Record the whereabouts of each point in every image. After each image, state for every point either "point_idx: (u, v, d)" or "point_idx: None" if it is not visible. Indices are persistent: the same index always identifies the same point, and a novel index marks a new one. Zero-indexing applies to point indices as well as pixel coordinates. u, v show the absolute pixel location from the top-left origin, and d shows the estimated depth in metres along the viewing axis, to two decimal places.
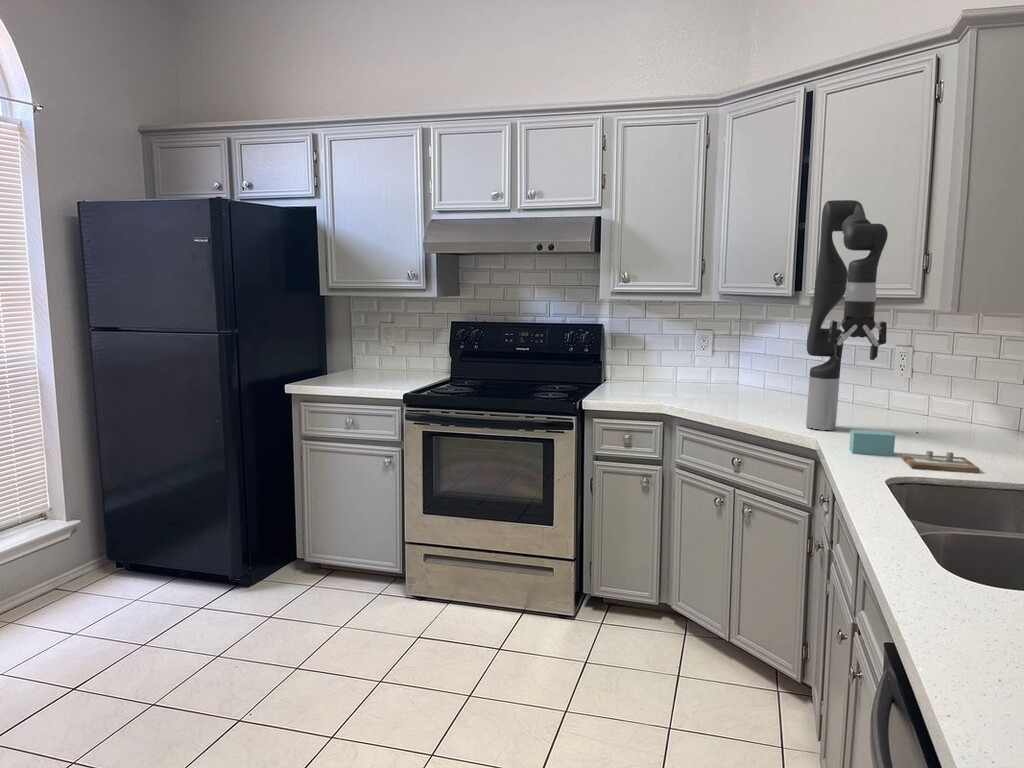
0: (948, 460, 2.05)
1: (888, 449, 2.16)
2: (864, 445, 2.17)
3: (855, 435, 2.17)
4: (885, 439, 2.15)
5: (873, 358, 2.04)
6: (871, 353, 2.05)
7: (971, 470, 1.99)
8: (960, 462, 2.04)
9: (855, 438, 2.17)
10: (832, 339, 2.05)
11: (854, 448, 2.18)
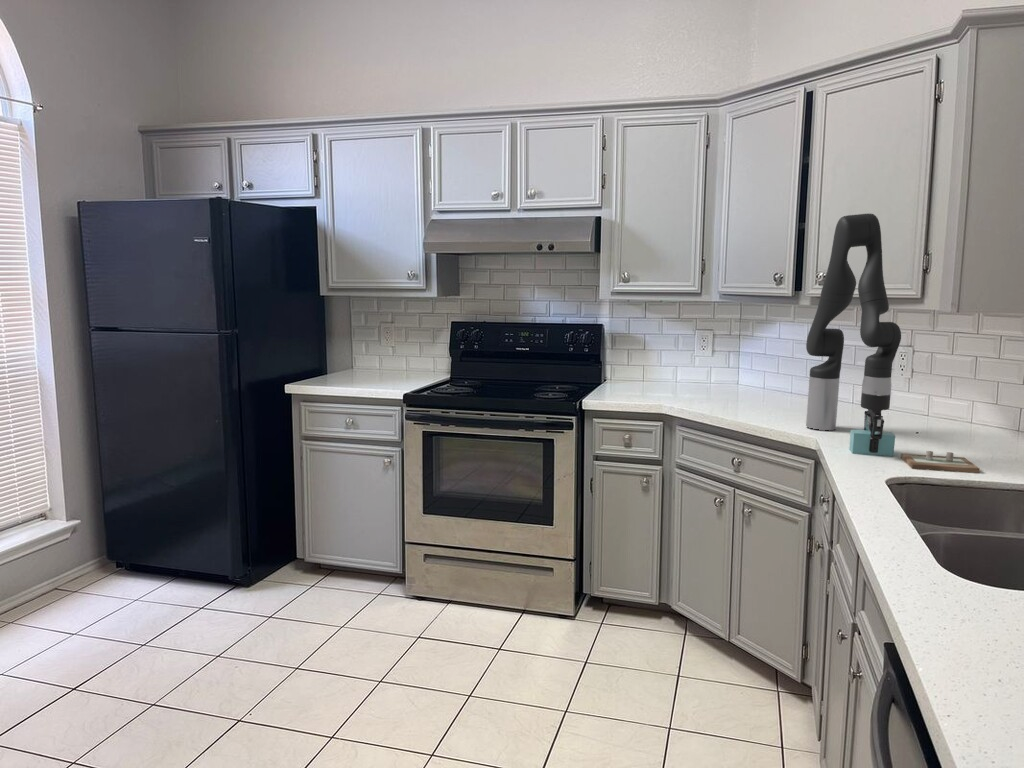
0: (948, 460, 2.05)
1: (888, 449, 2.16)
2: (864, 445, 2.17)
3: (855, 435, 2.17)
4: (885, 439, 2.15)
5: None
6: None
7: (971, 470, 1.99)
8: (960, 462, 2.04)
9: (855, 438, 2.17)
10: None
11: (854, 448, 2.18)
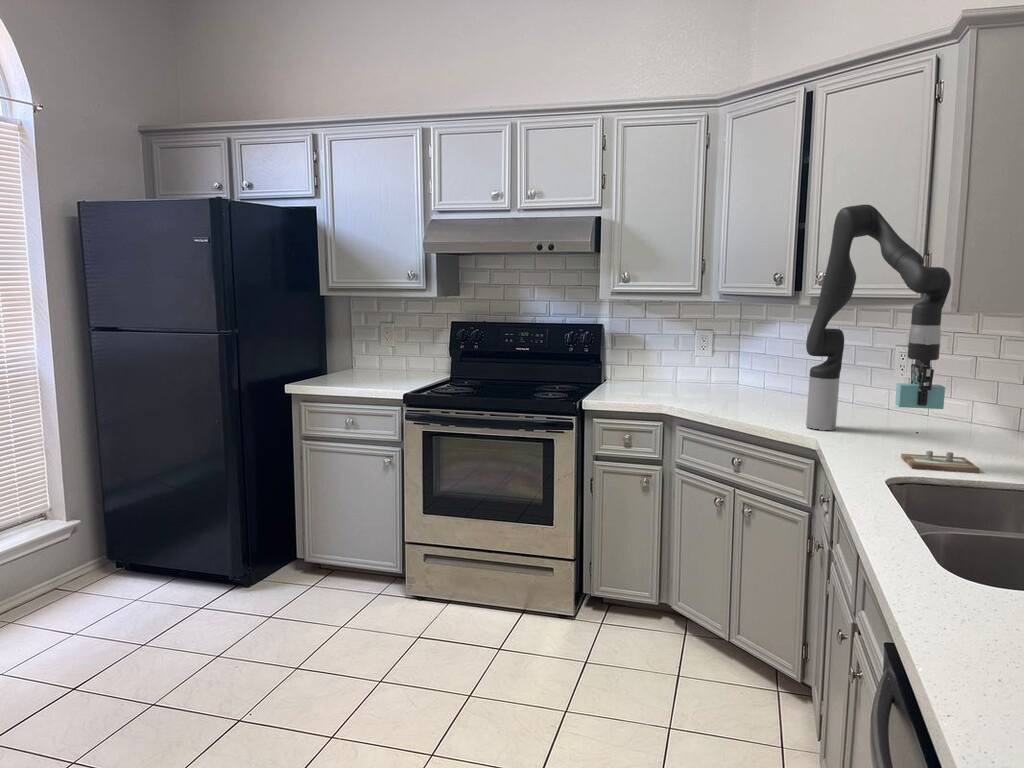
0: (948, 460, 2.05)
1: (937, 402, 2.04)
2: (911, 398, 2.05)
3: (902, 387, 2.05)
4: (935, 391, 2.03)
5: None
6: None
7: (971, 470, 1.99)
8: (960, 462, 2.04)
9: (902, 391, 2.06)
10: (930, 387, 2.01)
11: (901, 401, 2.06)
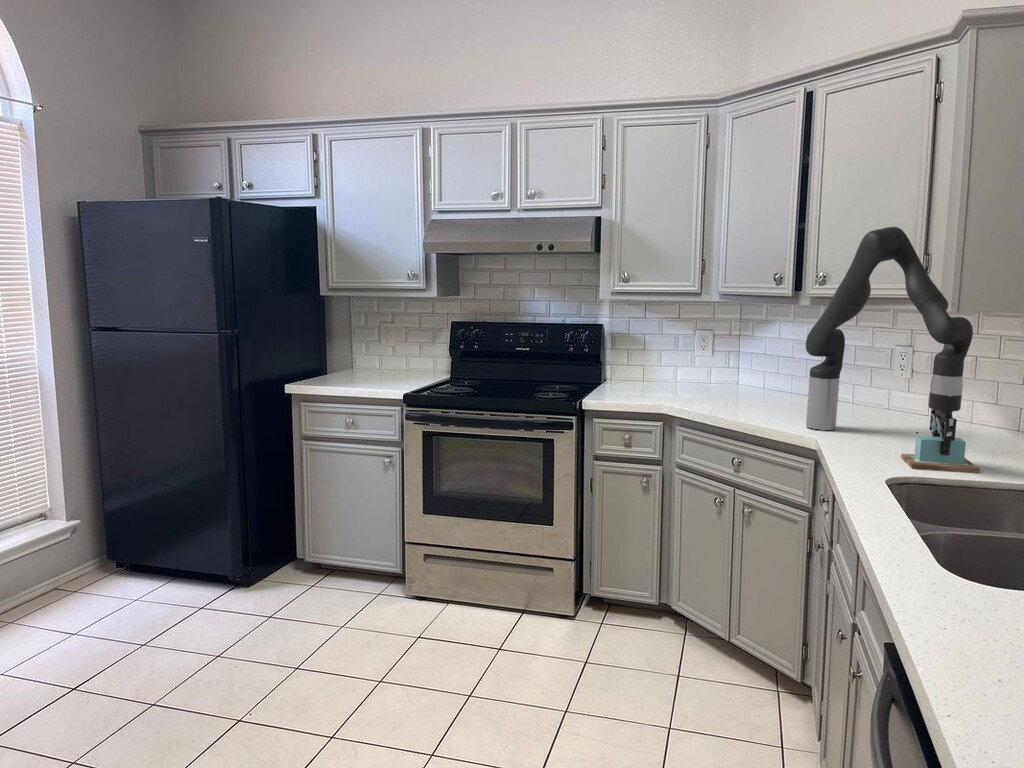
0: None
1: (958, 456, 2.02)
2: (931, 452, 2.04)
3: (922, 441, 2.04)
4: (955, 446, 2.02)
5: None
6: None
7: (971, 470, 1.99)
8: None
9: (922, 445, 2.04)
10: None
11: (921, 455, 2.05)
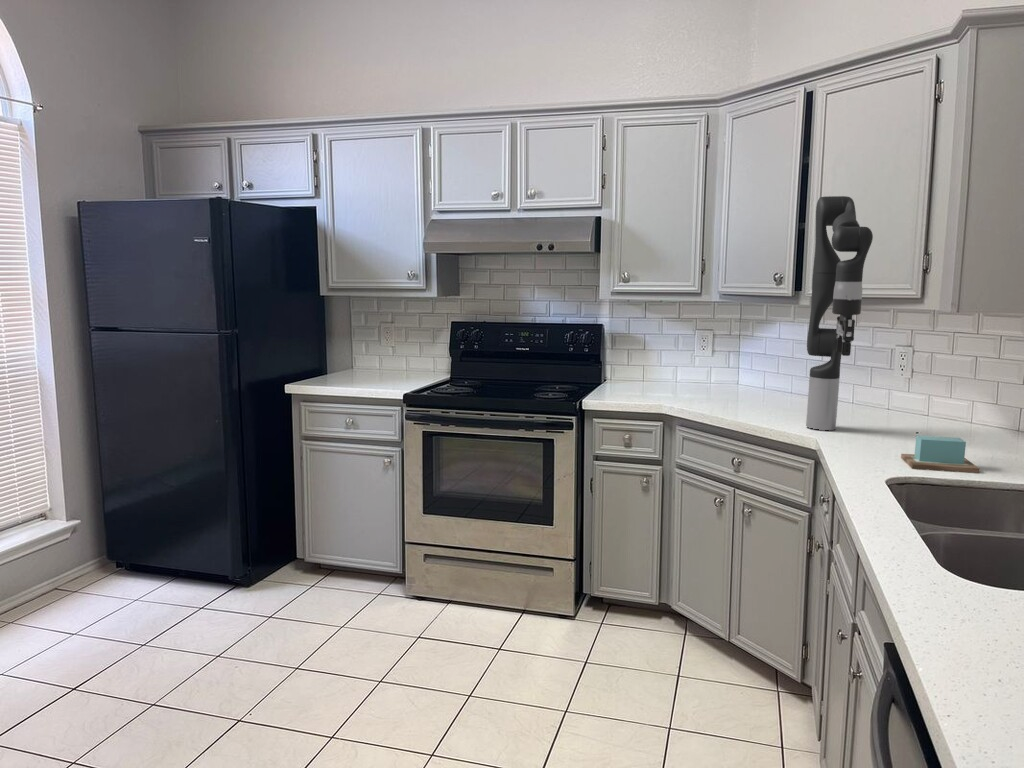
0: None
1: (958, 456, 2.02)
2: (931, 452, 2.04)
3: (922, 441, 2.04)
4: (955, 446, 2.02)
5: None
6: (841, 346, 2.23)
7: (971, 470, 1.99)
8: None
9: (922, 445, 2.04)
10: None
11: (921, 455, 2.05)
